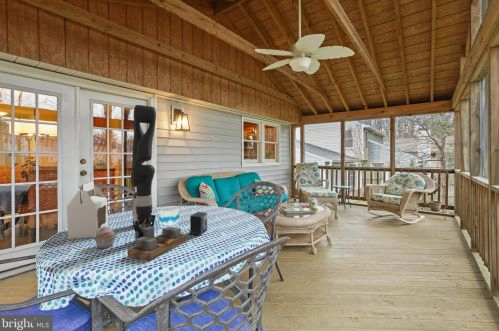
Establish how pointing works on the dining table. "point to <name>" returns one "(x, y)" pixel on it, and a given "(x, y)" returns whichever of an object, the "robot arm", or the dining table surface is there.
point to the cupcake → (105, 237)
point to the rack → (157, 244)
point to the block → (146, 232)
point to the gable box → (87, 212)
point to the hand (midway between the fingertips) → (144, 237)
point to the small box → (198, 223)
